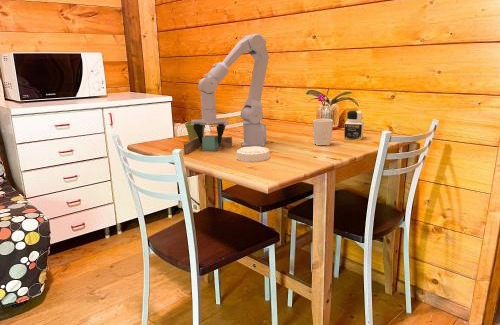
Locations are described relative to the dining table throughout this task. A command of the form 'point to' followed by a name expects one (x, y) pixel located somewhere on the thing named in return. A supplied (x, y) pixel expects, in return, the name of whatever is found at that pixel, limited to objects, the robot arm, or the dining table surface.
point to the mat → (211, 150)
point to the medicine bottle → (354, 125)
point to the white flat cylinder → (253, 154)
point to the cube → (210, 142)
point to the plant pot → (192, 130)
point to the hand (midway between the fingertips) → (210, 142)
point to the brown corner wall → (196, 143)
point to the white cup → (322, 131)
